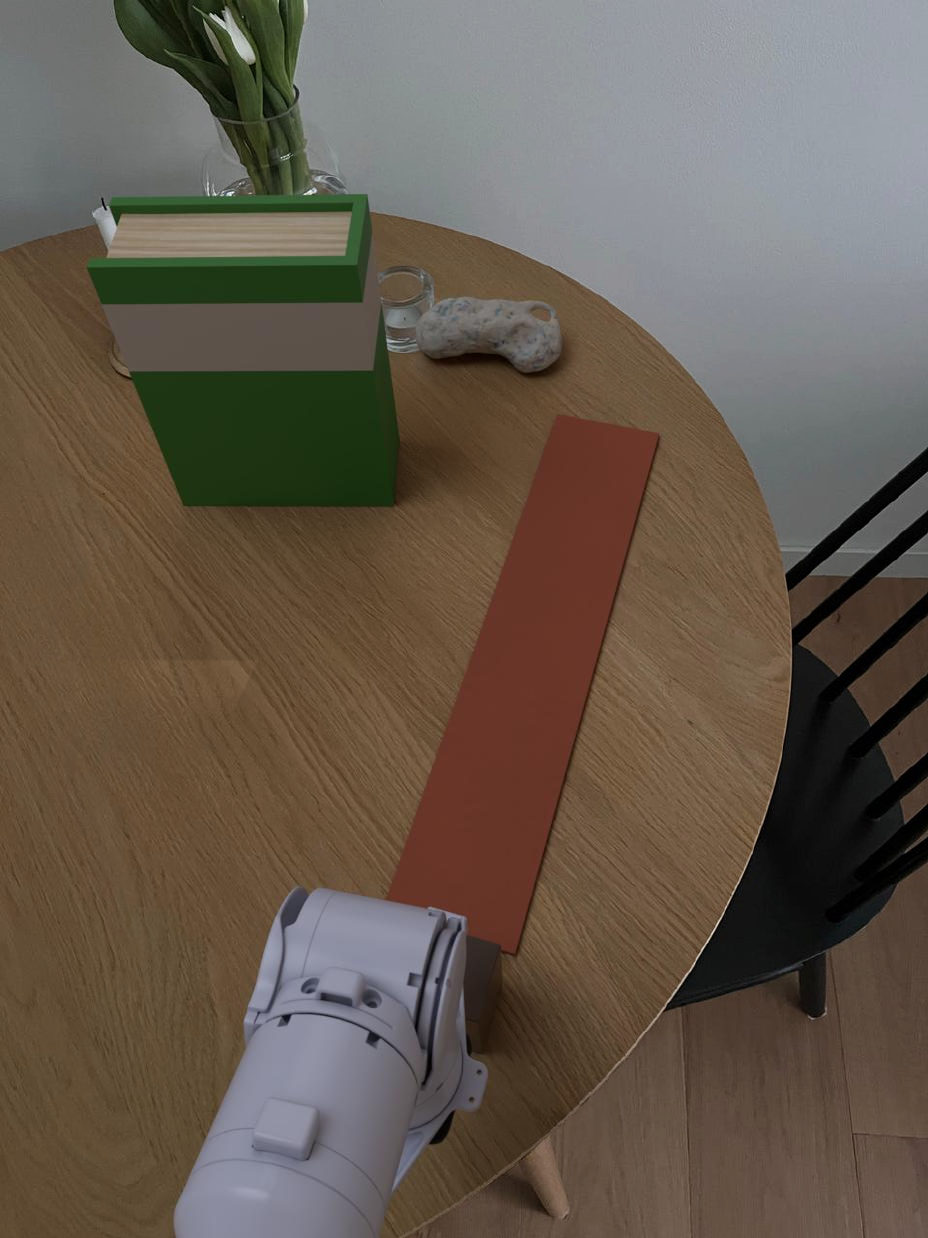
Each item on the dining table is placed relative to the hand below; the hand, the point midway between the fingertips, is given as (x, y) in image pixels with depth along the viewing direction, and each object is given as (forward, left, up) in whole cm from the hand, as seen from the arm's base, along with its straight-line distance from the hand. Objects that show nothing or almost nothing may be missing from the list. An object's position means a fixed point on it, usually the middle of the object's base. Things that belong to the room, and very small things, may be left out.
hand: (415, 1097), depth 56 cm
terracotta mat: (+34, +2, -7) cm, 34 cm away
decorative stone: (+63, +14, -7) cm, 65 cm away
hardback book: (+45, +26, -7) cm, 52 cm away
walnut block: (+6, 0, -7) cm, 9 cm away
